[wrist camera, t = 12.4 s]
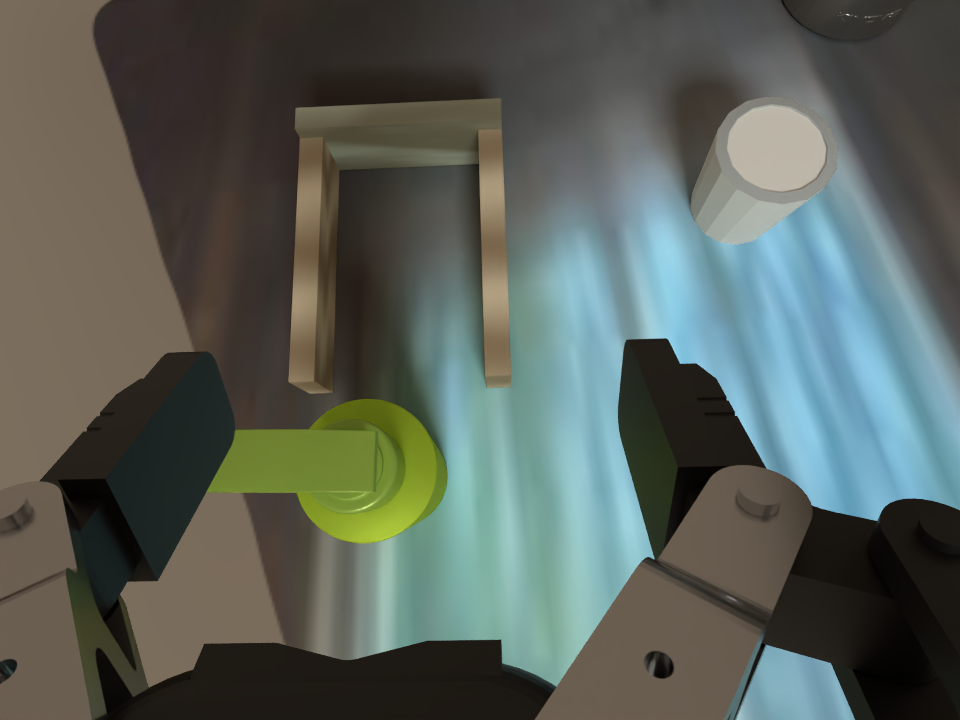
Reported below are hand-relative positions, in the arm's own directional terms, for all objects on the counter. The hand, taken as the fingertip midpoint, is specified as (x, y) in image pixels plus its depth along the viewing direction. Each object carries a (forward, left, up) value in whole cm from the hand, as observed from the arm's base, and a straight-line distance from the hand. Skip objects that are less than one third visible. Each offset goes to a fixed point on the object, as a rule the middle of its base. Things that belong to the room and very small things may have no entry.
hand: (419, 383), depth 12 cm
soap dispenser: (+1, -5, -27) cm, 27 cm away
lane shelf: (-14, -4, -27) cm, 30 cm away
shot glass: (-17, +18, -27) cm, 36 cm away
